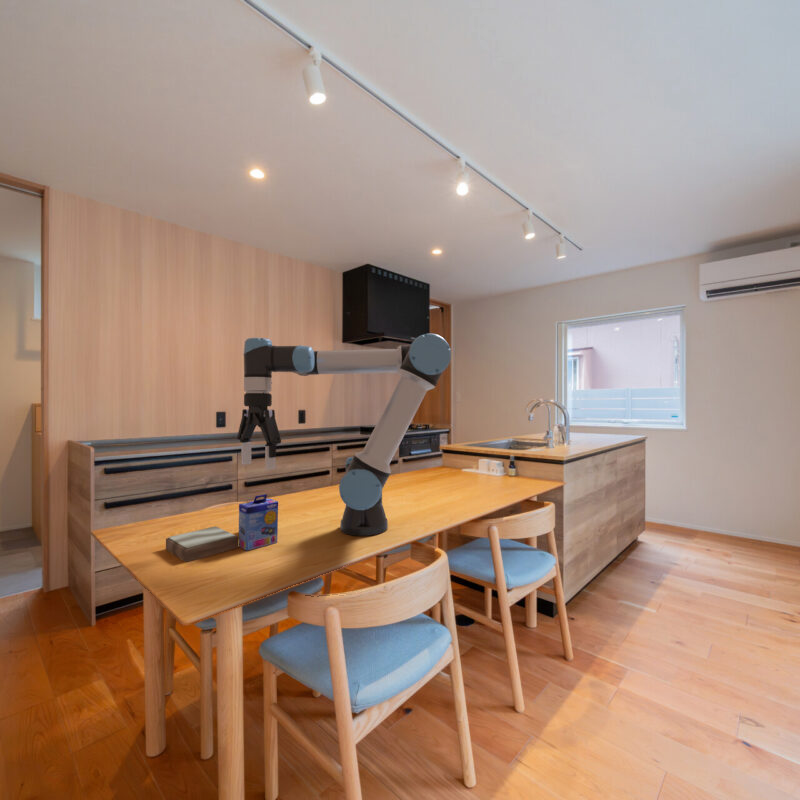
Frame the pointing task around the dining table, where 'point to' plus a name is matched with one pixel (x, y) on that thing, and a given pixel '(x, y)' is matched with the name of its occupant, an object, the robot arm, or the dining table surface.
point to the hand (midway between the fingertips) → (258, 466)
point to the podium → (201, 543)
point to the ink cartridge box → (258, 523)
